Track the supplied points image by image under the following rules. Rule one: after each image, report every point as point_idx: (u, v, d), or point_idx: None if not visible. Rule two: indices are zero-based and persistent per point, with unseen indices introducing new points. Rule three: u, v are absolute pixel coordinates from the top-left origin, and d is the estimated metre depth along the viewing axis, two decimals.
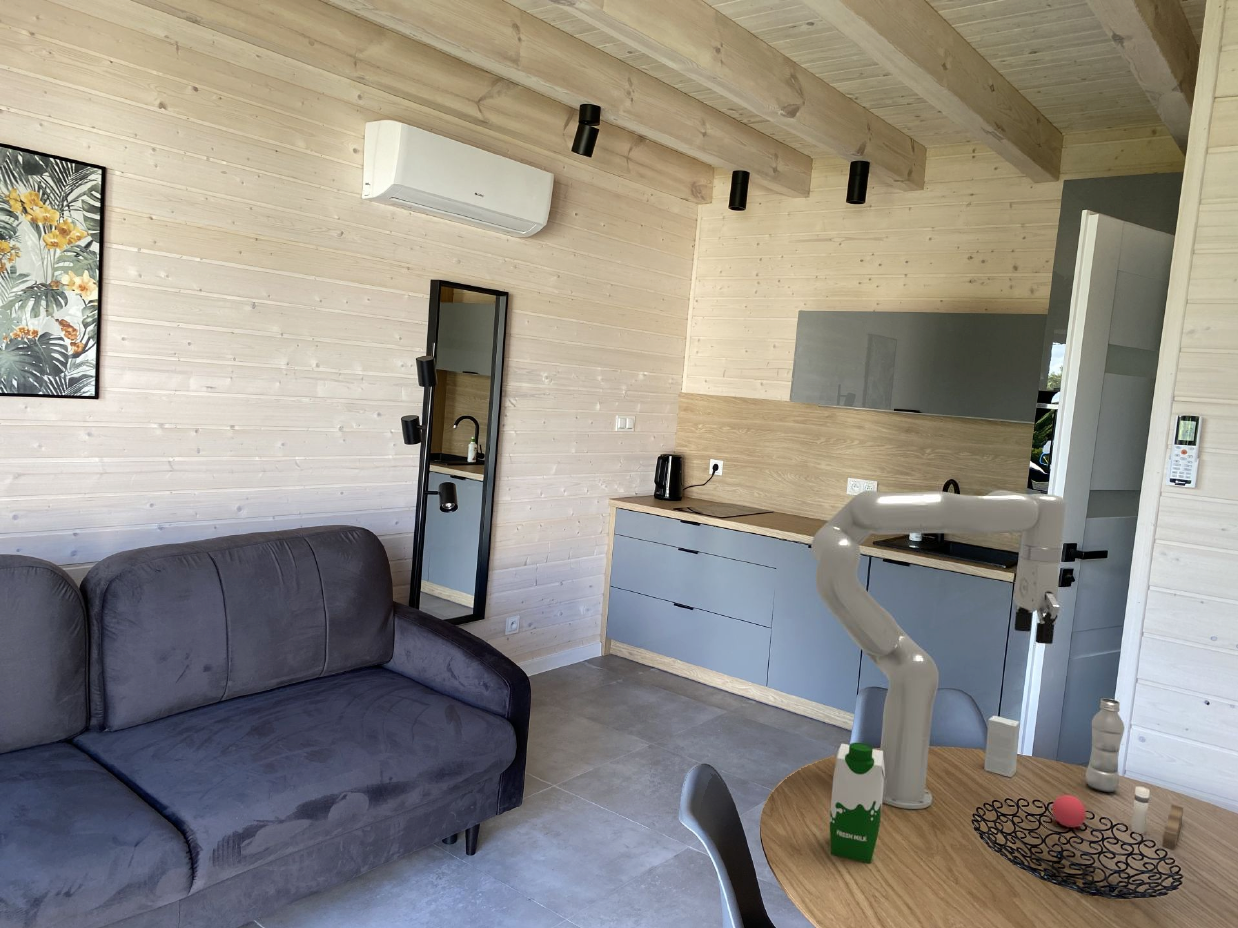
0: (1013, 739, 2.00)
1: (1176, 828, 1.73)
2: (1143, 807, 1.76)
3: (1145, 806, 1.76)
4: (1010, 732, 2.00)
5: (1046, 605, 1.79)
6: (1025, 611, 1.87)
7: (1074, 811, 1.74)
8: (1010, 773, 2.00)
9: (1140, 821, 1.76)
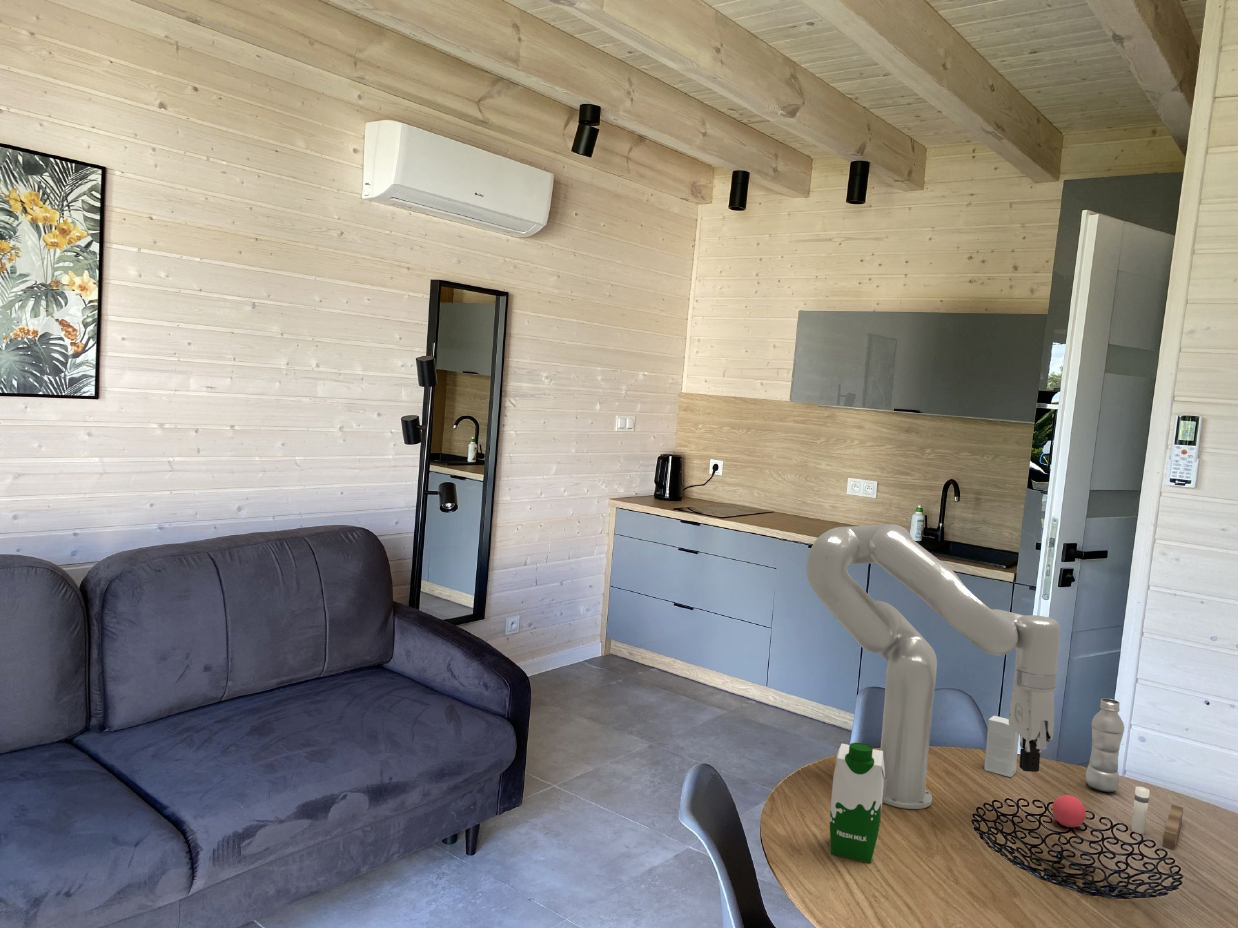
0: (1013, 739, 2.00)
1: (1176, 828, 1.73)
2: (1143, 807, 1.76)
3: (1145, 806, 1.76)
4: (1010, 732, 2.00)
5: None
6: None
7: (1074, 811, 1.74)
8: (1010, 773, 2.00)
9: (1140, 821, 1.76)
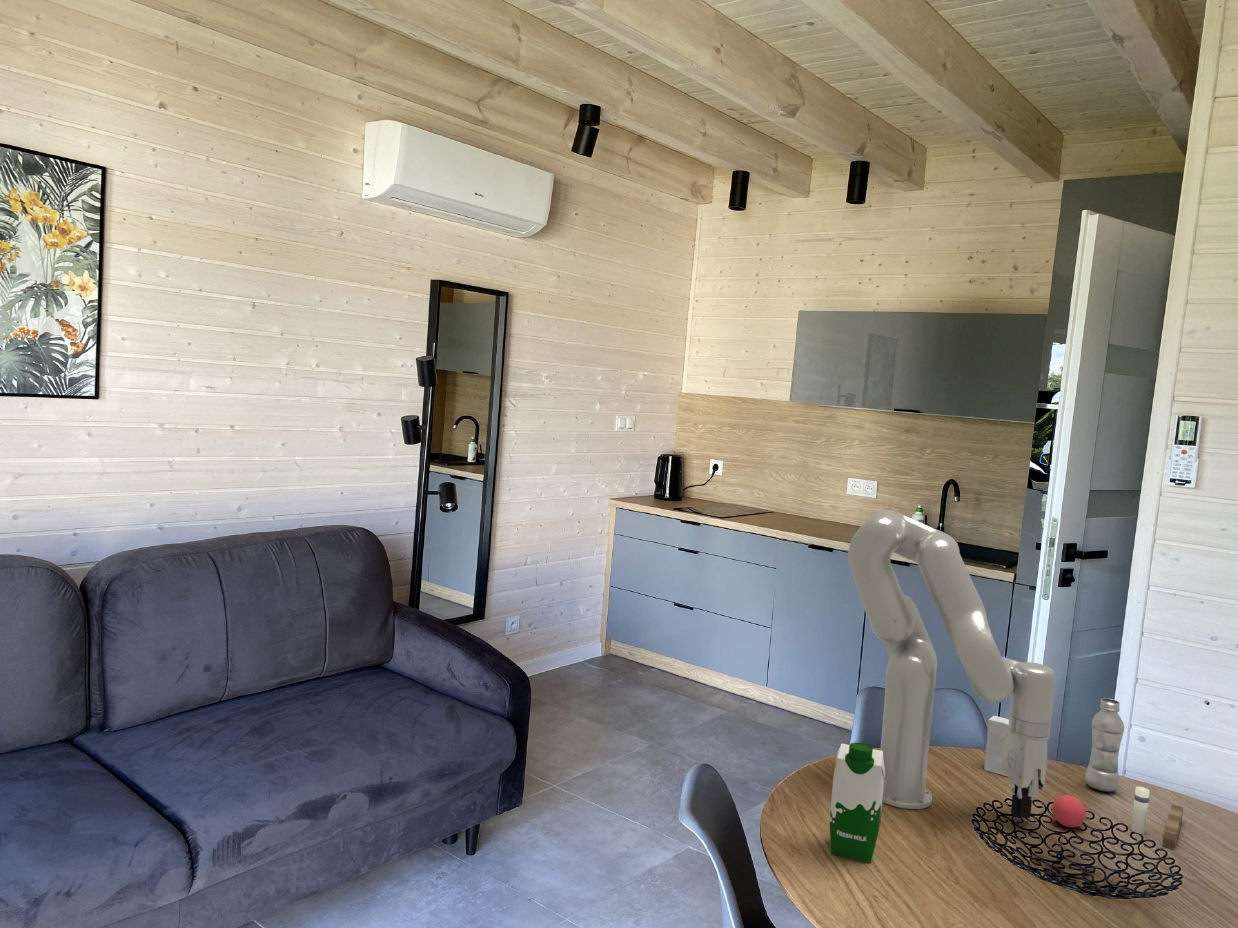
0: None
1: (1176, 828, 1.73)
2: (1143, 807, 1.76)
3: (1145, 806, 1.76)
4: None
5: None
6: None
7: (1074, 811, 1.74)
8: None
9: (1140, 821, 1.76)
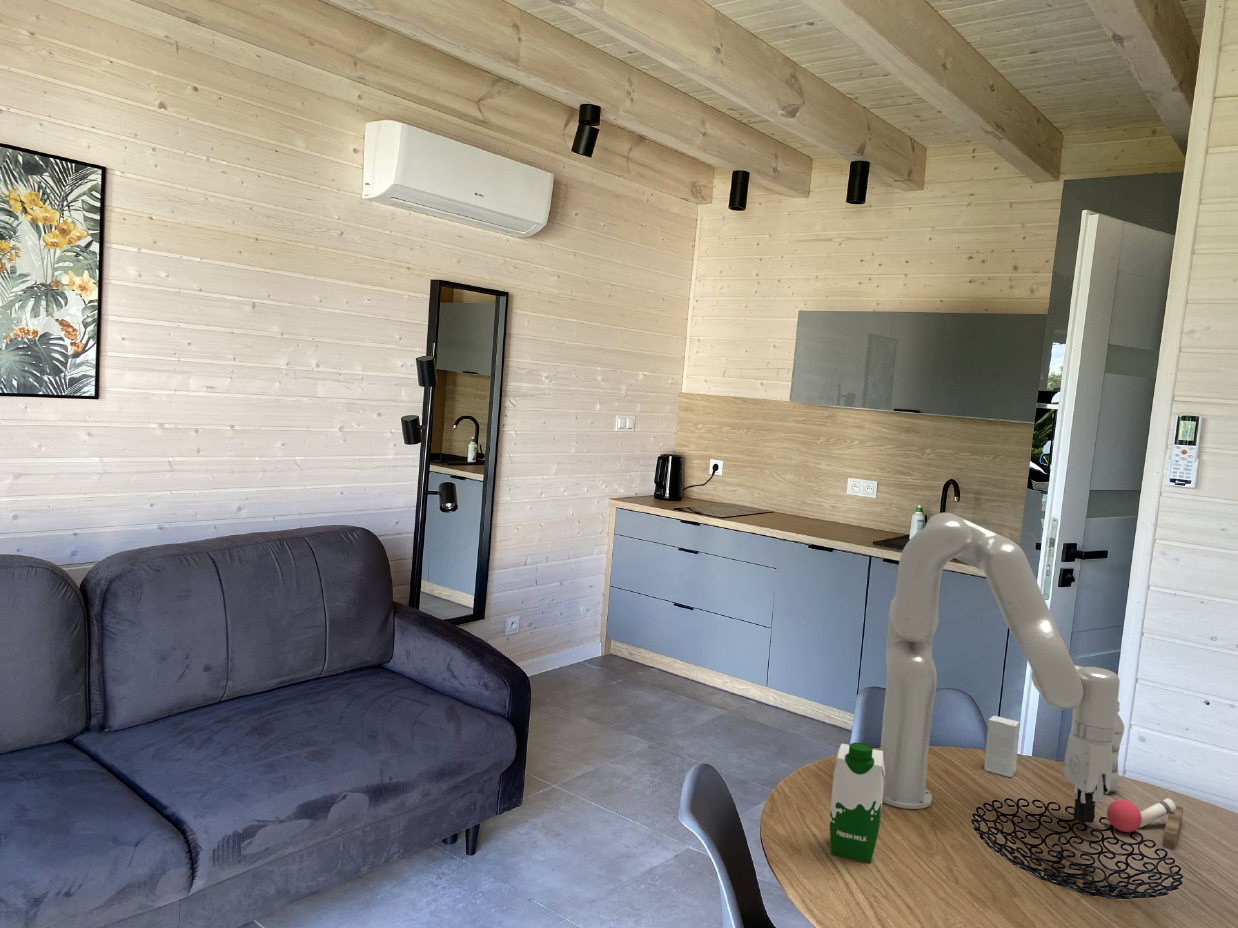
0: (1013, 739, 2.00)
1: (1176, 828, 1.73)
2: (1157, 805, 1.80)
3: (1159, 806, 1.79)
4: (1010, 732, 2.00)
5: None
6: None
7: (1131, 828, 1.74)
8: (1010, 773, 2.00)
9: (1144, 811, 1.79)
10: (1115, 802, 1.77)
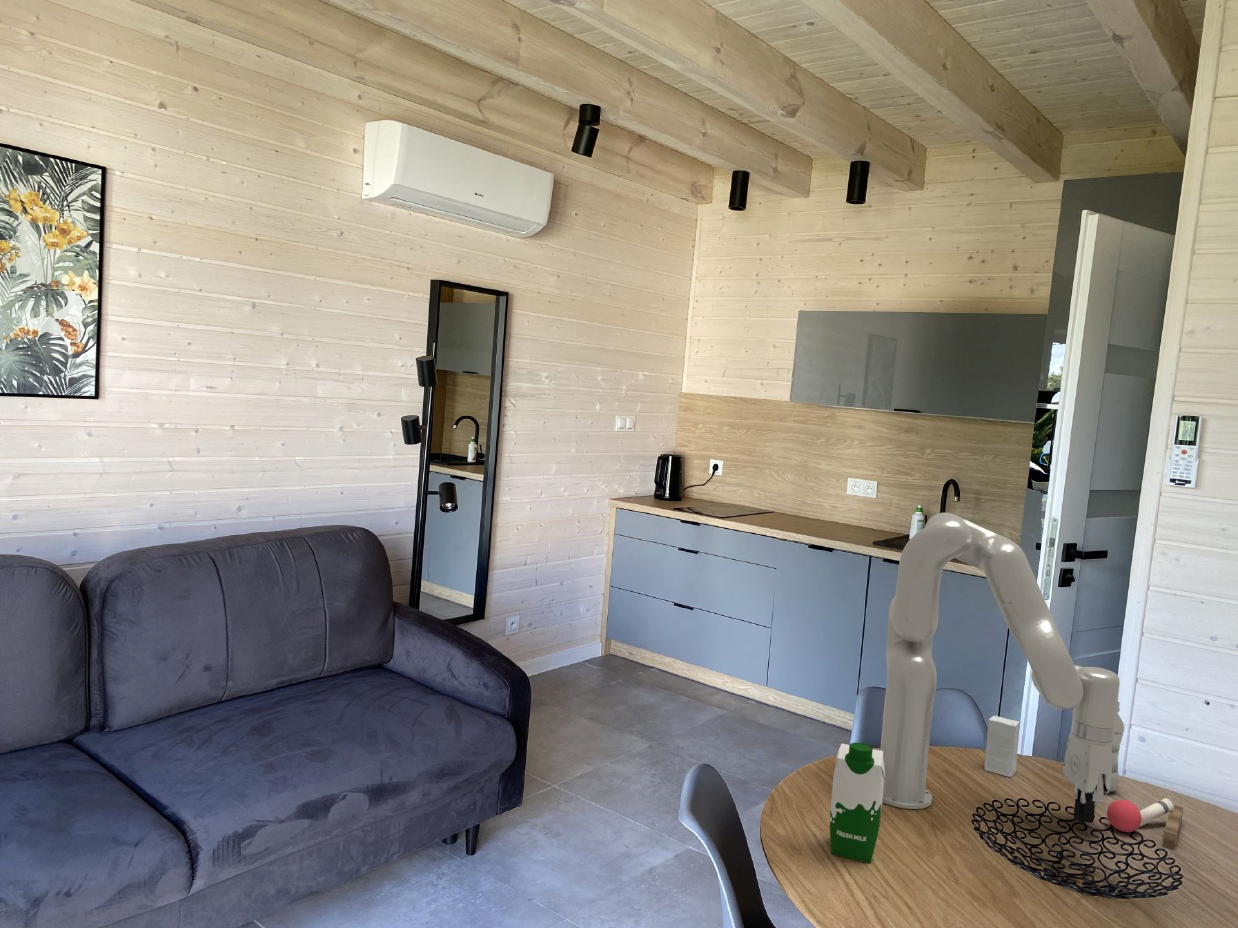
0: (1013, 739, 2.00)
1: (1176, 828, 1.73)
2: (1154, 804, 1.80)
3: (1157, 805, 1.80)
4: (1010, 732, 2.00)
5: None
6: None
7: (1131, 828, 1.74)
8: (1010, 773, 2.00)
9: (1142, 810, 1.80)
10: (1115, 802, 1.77)
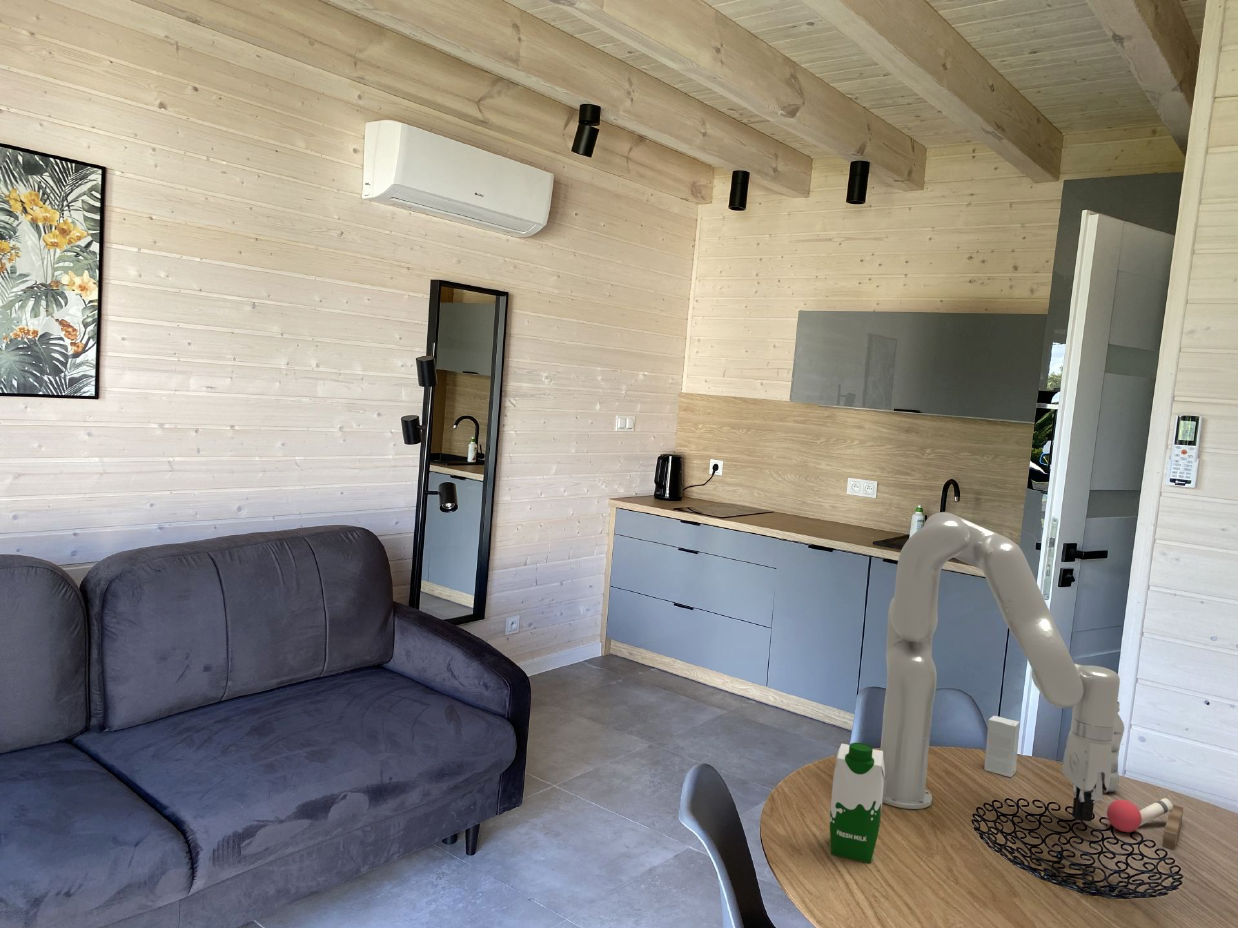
0: (1013, 739, 2.00)
1: (1176, 828, 1.73)
2: (1153, 804, 1.81)
3: (1155, 804, 1.80)
4: (1010, 732, 2.00)
5: None
6: None
7: (1131, 828, 1.74)
8: (1010, 773, 2.00)
9: None
10: (1115, 802, 1.77)
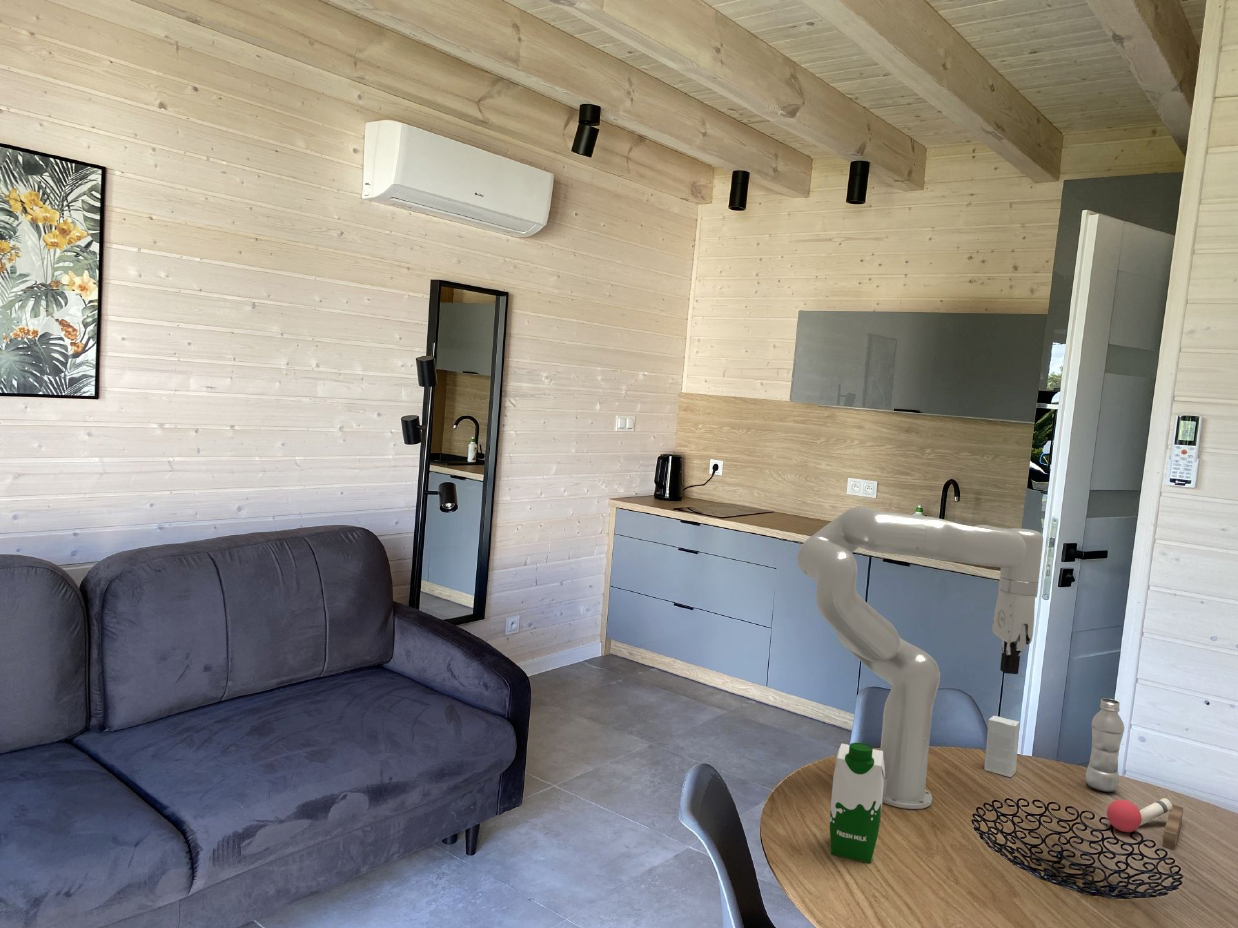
0: (1013, 739, 2.00)
1: (1176, 828, 1.73)
2: (1152, 804, 1.81)
3: (1155, 804, 1.80)
4: (1010, 732, 2.00)
5: None
6: None
7: (1131, 828, 1.74)
8: (1010, 773, 2.00)
9: (1141, 809, 1.80)
10: (1115, 802, 1.77)
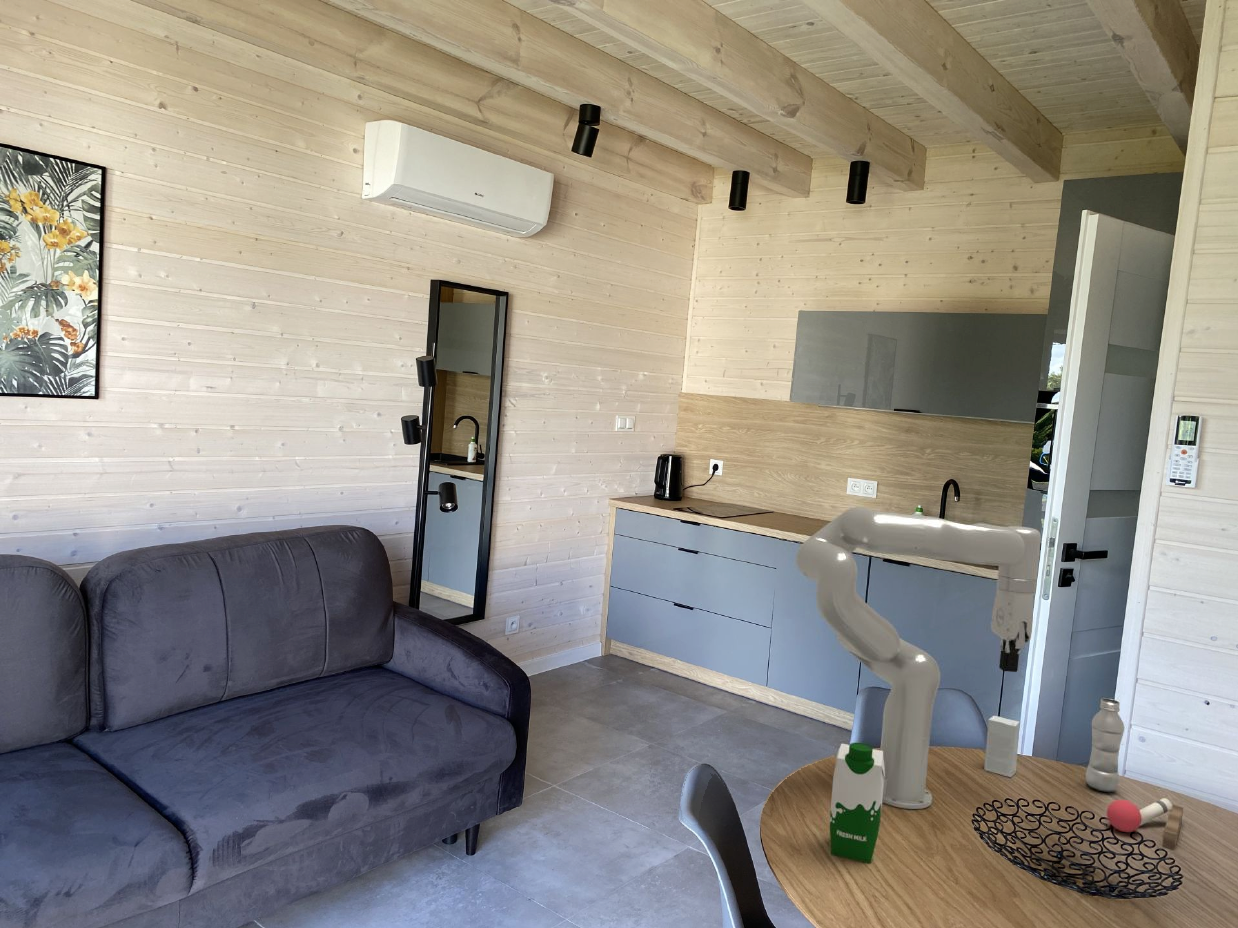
0: (1013, 739, 2.00)
1: (1176, 828, 1.73)
2: (1152, 804, 1.81)
3: (1155, 804, 1.80)
4: (1010, 732, 2.00)
5: None
6: None
7: (1131, 828, 1.74)
8: (1010, 773, 2.00)
9: None
10: (1115, 802, 1.77)
